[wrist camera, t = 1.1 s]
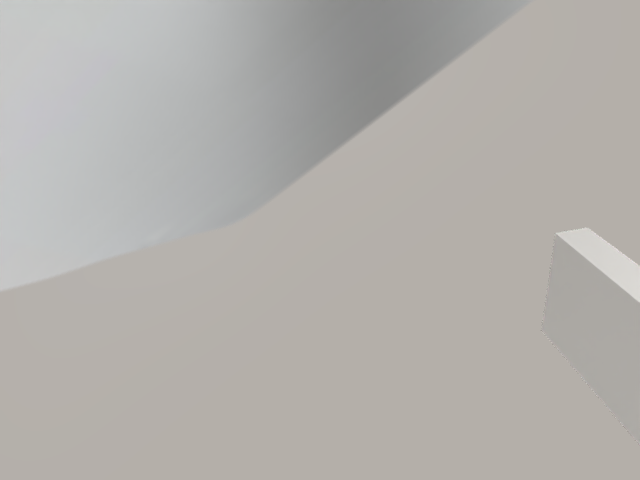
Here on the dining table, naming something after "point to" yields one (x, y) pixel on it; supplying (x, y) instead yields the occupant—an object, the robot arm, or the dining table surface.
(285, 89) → the dining table surface
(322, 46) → the dining table surface
